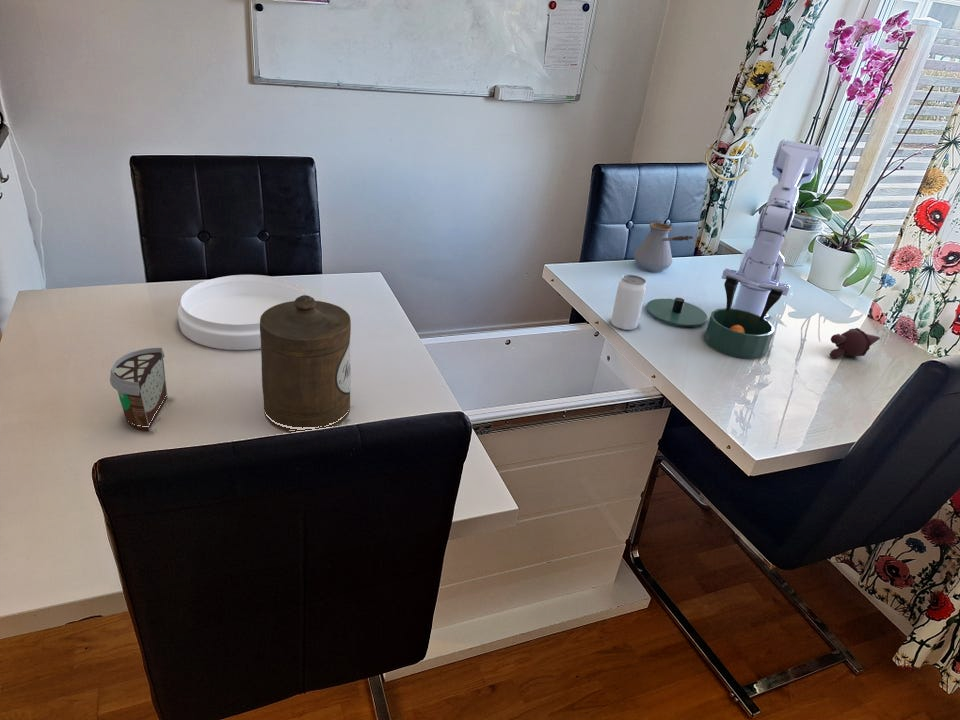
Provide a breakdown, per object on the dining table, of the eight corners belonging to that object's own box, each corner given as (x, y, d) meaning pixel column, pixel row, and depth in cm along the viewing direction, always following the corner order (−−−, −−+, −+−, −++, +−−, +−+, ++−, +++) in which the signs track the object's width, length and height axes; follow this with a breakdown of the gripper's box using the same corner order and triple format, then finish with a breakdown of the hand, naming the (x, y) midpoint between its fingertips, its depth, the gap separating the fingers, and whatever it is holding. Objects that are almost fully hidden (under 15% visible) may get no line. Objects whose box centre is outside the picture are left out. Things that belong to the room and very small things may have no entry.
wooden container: (363, 421, 117) (365, 308, 106) (280, 443, 110) (273, 323, 99) (331, 380, 128) (330, 274, 117) (253, 398, 120) (244, 285, 109)
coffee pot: (624, 260, 203) (635, 212, 196) (657, 259, 207) (668, 212, 199) (662, 289, 186) (675, 237, 178) (696, 287, 189) (711, 237, 182)
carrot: (735, 318, 162) (749, 325, 161) (728, 330, 164) (742, 337, 163) (727, 332, 154) (741, 339, 153) (719, 344, 156) (734, 352, 155)
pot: (721, 325, 169) (728, 303, 166) (776, 347, 160) (784, 325, 157) (693, 340, 159) (699, 317, 156) (749, 365, 151) (757, 341, 148)
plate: (296, 290, 161) (295, 269, 159) (324, 341, 141) (323, 318, 138) (174, 301, 150) (171, 278, 147) (185, 358, 129) (182, 333, 127)
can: (637, 332, 160) (648, 286, 154) (609, 328, 160) (619, 282, 155) (636, 321, 165) (647, 276, 159) (610, 317, 166) (620, 272, 160)
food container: (133, 394, 117) (124, 344, 113) (170, 395, 118) (163, 346, 113) (106, 436, 107) (94, 382, 102) (146, 437, 108) (137, 384, 103)
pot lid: (665, 297, 181) (669, 282, 178) (717, 318, 172) (721, 303, 169) (633, 311, 171) (637, 295, 168) (686, 334, 162) (691, 318, 159)
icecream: (867, 320, 164) (819, 329, 159) (894, 327, 157) (845, 336, 153) (864, 347, 166) (817, 357, 161) (891, 355, 159) (842, 365, 155)
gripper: (725, 256, 149) (709, 310, 156) (793, 273, 143) (774, 329, 150) (732, 248, 154) (716, 301, 161) (798, 264, 149) (778, 319, 155)
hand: (744, 314), depth 156 cm, fingers open, 7 cm apart
